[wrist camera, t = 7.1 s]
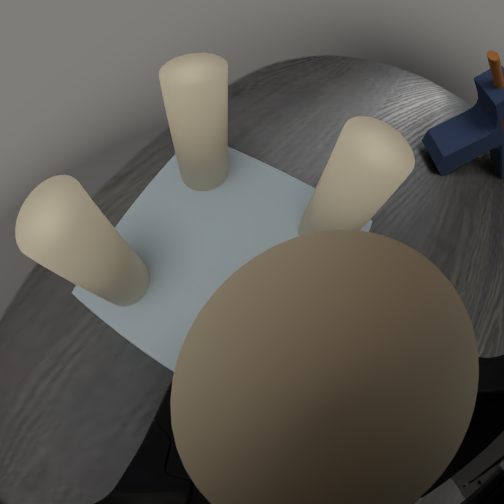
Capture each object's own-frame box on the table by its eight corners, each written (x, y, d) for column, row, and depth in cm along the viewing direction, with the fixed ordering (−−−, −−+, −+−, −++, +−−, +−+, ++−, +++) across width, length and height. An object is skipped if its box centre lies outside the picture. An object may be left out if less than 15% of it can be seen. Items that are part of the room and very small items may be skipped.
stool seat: (361, 233, 25) (440, 142, 13) (269, 418, 19) (316, 493, 6) (197, 149, 27) (184, 37, 15) (85, 299, 21) (-20, 242, 9)
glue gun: (457, 206, 40) (518, 175, 30) (421, 146, 19) (537, 81, 9) (444, 177, 42) (502, 145, 31) (390, 97, 21) (496, 36, 11)
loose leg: (304, 346, 15) (496, 299, 3) (276, 409, 14) (405, 541, 2) (240, 319, 16) (267, 178, 3) (209, 381, 14) (118, 478, 2)
